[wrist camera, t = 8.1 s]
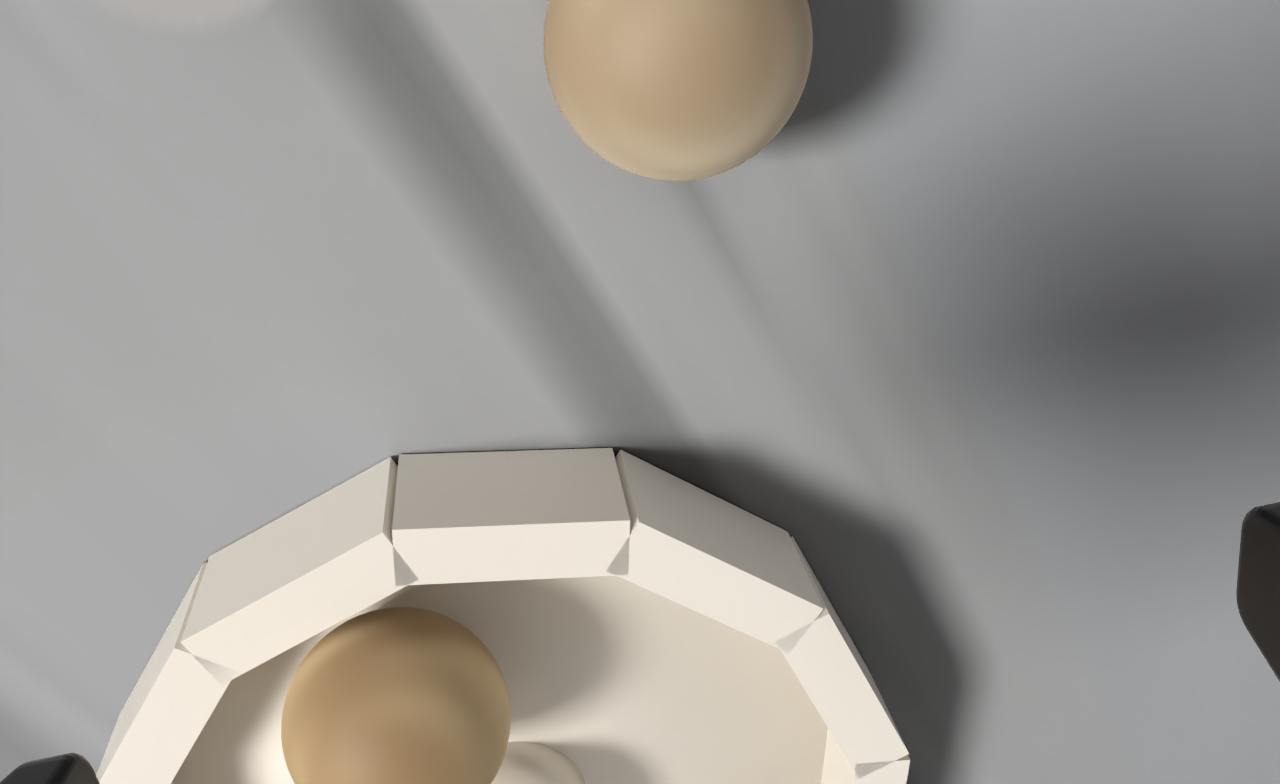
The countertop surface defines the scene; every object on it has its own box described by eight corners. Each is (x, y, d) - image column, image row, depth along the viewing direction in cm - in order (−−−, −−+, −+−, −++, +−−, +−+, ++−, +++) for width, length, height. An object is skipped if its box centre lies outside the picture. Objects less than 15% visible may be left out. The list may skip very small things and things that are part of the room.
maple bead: (814, 72, 18) (890, 125, 15) (609, 187, 19) (640, 263, 15) (712, -156, 17) (771, -152, 14) (489, -27, 17) (496, 9, 14)
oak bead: (473, 542, 20) (493, 668, 17) (519, 708, 22) (545, 853, 19) (261, 597, 20) (239, 737, 17) (322, 763, 21) (313, 921, 18)
